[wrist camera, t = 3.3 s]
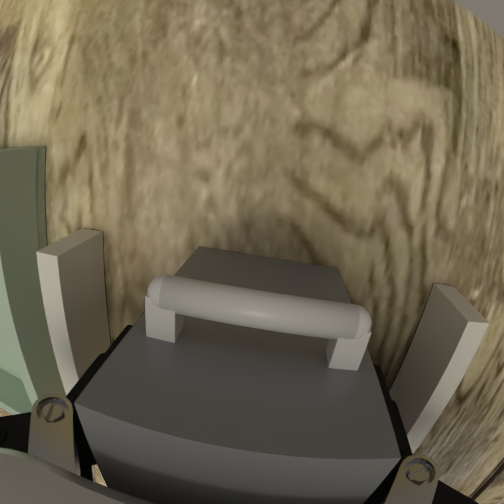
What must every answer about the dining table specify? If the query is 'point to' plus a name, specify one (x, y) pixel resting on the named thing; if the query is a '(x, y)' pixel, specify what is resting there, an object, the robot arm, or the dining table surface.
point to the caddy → (242, 390)
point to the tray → (23, 283)
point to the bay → (402, 391)
